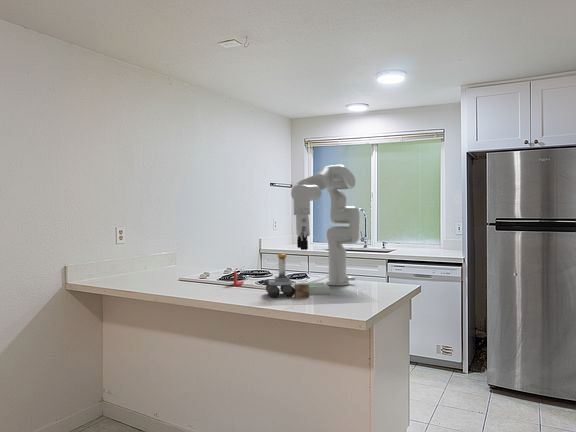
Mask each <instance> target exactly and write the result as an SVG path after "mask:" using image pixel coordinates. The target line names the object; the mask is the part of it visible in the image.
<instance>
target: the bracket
mask: <svg viewBox="0 0 576 432" xmlns="http://www.w3.org/2000/svg"><path fill="white" fill-rule="evenodd" d="M237 274H238V271H237V270H234V271H233V275H234V277H233V287H242V286H243V285H244V281H243V280H240V281H241V282H238V281H239V280H238V278H237ZM242 284H243V285H242ZM241 285H242V286H241Z"/></svg>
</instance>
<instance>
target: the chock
mask: <svg viewBox="0 0 576 432" xmlns="http://www.w3.org/2000/svg"><path fill="white" fill-rule="evenodd" d="M294 283H295V294H294V297H295V298H297V299H299V298H300V299H301V298H302V299H303V298H309V297H310V294H309V284H308V283H309V282H294Z"/></svg>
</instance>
